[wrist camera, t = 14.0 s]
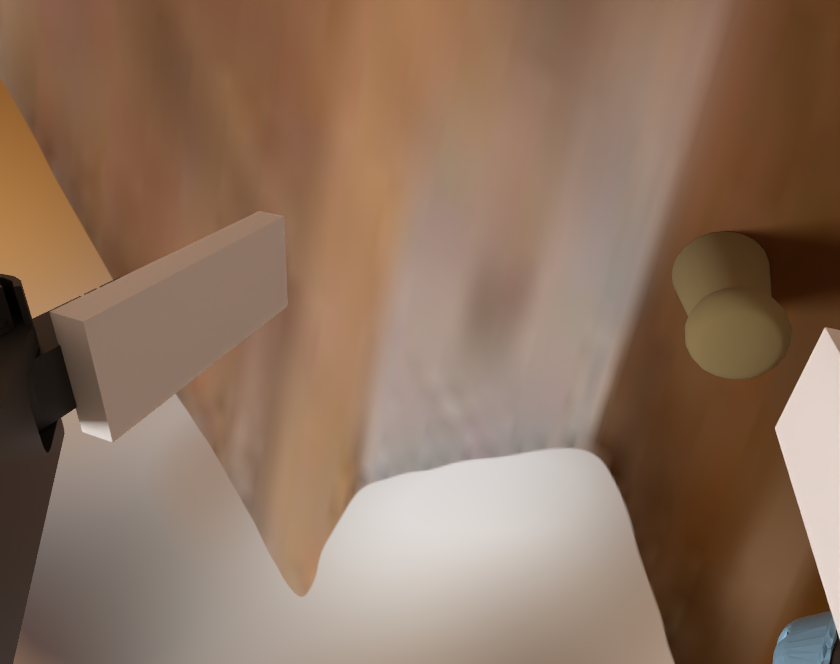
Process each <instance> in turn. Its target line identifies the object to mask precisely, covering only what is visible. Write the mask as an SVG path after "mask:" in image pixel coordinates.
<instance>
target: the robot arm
mask: <svg viewBox="0 0 840 664" xmlns="http://www.w3.org/2000/svg"><path fill="white" fill-rule="evenodd" d="M287 306H288V301H287V275H286V250H285V224H284V216H282V215H277V214H272V213H267V212H263V211H258V212H256V213H254V214H252V215H250V216H248V217H246V218H244V219H242V220H240V221H238V222H235V223H233V224H231V225H229V226H227V227H225V228H223V229H221V230H219V231H217V232H215V233H213V234H210V235H208V236H206V237H204V238H202V239H200V240H198V241H196V242H194V243H192V244H190V245H188V246H185V247H183V248H181V249H179V250H177V251H175V252H173V253H171V254H169V255H167V256H165V257H163V258H160V259H158V260H156V261H154V262H152V263H150V264H148V265H146V266H144V267H142V268H140V269H138V270H135V271H133V272H131V273H129V274H127V275H125V276H123V277H119V278H117V279H115V280H113V281H111V282H108V283H106V284H104V285H102V286H100V288H98V289H94V290H92V291H90V292H88V293H85V294H84V295H83V296H79V297H77V298H75V299H73V300H71V301H69V302H67V303H65V304H62V305H60V306H58V307H56V308H54V309H52V310H50V311H48V312H46V313H44V314H42V315H39V316H37V317H36V318H33V319H32V317H31V314H30V310H29V307H28V304H27V300H26V297H25V293H24V290H23V287H22V283H21V280H19V279H18V278H16V277H14V276H10V275H4V274H0V664H13V661H14V656H15V652H16V648H17V643H18V639H19V634H20V630H21V625H22V621H23V616H24V612H25V607H26V603H27V598H28V594H29V590H30V584H31V581H32V576H33V572H34V567H35V563H36V558H37V554H38V549H39V545H40V540H41V536H42V531H43V527H44V521H45V518H46V513H47V509H48V505H49V500H50V496H51V491H52V486H53V482H54V478H55V473H56V469H57V464H58V460H59V455H60V451H61V446H62V442H63V437H64V427H63V423H62V420H61V417H63V416H64V415H66V414H67V413H69V412H70V411H72V410H73V409H75V408H76V410H77V414H78V418H79V422H80V425H81V429H82V432H84V433H87V434H90V435H93V436H96V437H99V438H101V439H105V440H107V441H110V442H114V441H115V440H116V439H118V438H119V437H120V436H122V435H123V434H124V433H125V432H127V431H128V430H129V429H131V428H132V427H133V426H134V425H136V424H137V423H138V422H140V421H141V420H142V419H143V418H145V417H146V416H147V415H148V414H150V413H151V412H152V411H154V410H155V409H156V408H157V407H159V406H160V405H161V404H162V403H164V402H165V401H166V400H168V399H169V398H170V397H172V396H173V395H174V394H175V393H177V392H178V391H179V390H181V389H182V388H183V387H184V386H186V385H187V384H188V383H190V382H191V381H192V380H193V379H195V378H196V377H197V376H199V375H200V374H201V373H202V372H204V371H205V370H206V369H208V368H209V367H210V366H211V365H213V364H214V363H215V362H217V361H218V360H219V359H220V358H222V357H223V356H224V355H226V354H227V353H228V352H229V351H231V350H232V349H233V348H234V347H236V346H237V345H238V344H240V343H241V342H242V341H243V340H245V339H246V338H247V337H249V336H250V335H251V334H252V333H254V332H255V331H256V330H258V329H259V328H260V327H261V326H263V325H264V324H265V323H267V322H268V321H269V320H270V319H272V318H273V317H274V316H276V315H277V314H278V313H279V312H281V311H282V310H283V309H285V308H286V307H287ZM775 430H776V433H777V437H778V440H779V443H780V446H781V450H782V453H783V456H784V459H785V463H786V466H787V469H788V473H789V476H790V479H791V482H792V486H793V489H794V492H795V495H796V499H797V502H798V505H799V508H800V512H801V515H802V518H803V521H804V525H805V528H806V531H807V534H808V538H809V541H810V544H811V547H812V551H813V554H814V557H815V560H816V564H817V567H818V570H819V574H820V577H821V580H822V583H823V587H824V590H825V593H826V596H827V600H828V603H829V606H830V609H831V611H827V612H823V613H819V614H815V615H810V616H806V617H802V618H799V619H796V620H794V621H793V622H791V623H789V624H788V625H787V626H786V627H785V628H784V629H783V631H782V633H781V635H780V636H779V638H778V642H777V646H776V647H775V651H774V655H773V664H840V330H836V329H831V328H826V327H825V328H824V330H823V332H822V334H821V336H820V338H819V340H818V342H817V344H816V346H815V348H814V350H813V352H812V354H811V356H810V358H809V360H808V362H807V364H806V366H805V368H804V370H803V372H802V374H801V376H800V378H799V380H798V382H797V384H796V387H795V389H794V391H793V393H792V395H791V397H790V399H789V401H788V403H787V405H786V407H785V409H784V411H783V413H782V415H781V417H780V419H779V421H778V423H777V425H776V427H775Z"/></svg>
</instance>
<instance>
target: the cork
mask: <svg viewBox="0 0 840 664" xmlns="http://www.w3.org/2000/svg"><path fill="white" fill-rule="evenodd" d="M672 283H673V286H674V288H675V290H676V292H677V295H678V297H679V299H680V301H681V303H682V305H683V307H684V309H685V311H686V313H687V315H688V319H687V322H686V325H685V341H686V346H687V348H688V350H689V353H690V355H691V357H692V358H693V359H694V360H695V361H696V362H697V363H698V364H699V365H700V366H701V367H702V368H703V369H704V370H706V371H708V372H710V373H711V374H713V375H715V376H719V377H724V378H728V379H747V378H751V377H755V376H759V375H761V374H763V373H765V372H767V371H769V370H770V369H772V368H774V367H775V366H776V365H777V364H778V363H779V362H780V361H781V360H782V359H783V358H784V357H785V355H786V352H787V350H788V348H789V346H790V342H791V324H790V322H789V319H788V317H787V314H786V312H785V310H784V309H783V308H782V307H781V306H780V305H779V304H778V302H777V301H776V300H775V299H774V298H772V293H771V278H770V263H769V260H768V258H767V255H766V253H765V250H764V249H763V248H762V247H761V246H760V245H759V244H758V243H757V242H756V241H755V240H753V239H751V238H750V237H748V236H746V235H744V234H741V233H735V232H729V231H723V232H713V233H709V234H706V235H704V236H701V237H699V238H696V239H695V240H693V241H692V242H691V243H689V244H688V245H687V246H685V247H684V248H683V250H682V251H681V252H680V254H679V255H678V256H677V258H676V260H675V263H674V266H673V269H672Z"/></svg>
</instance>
